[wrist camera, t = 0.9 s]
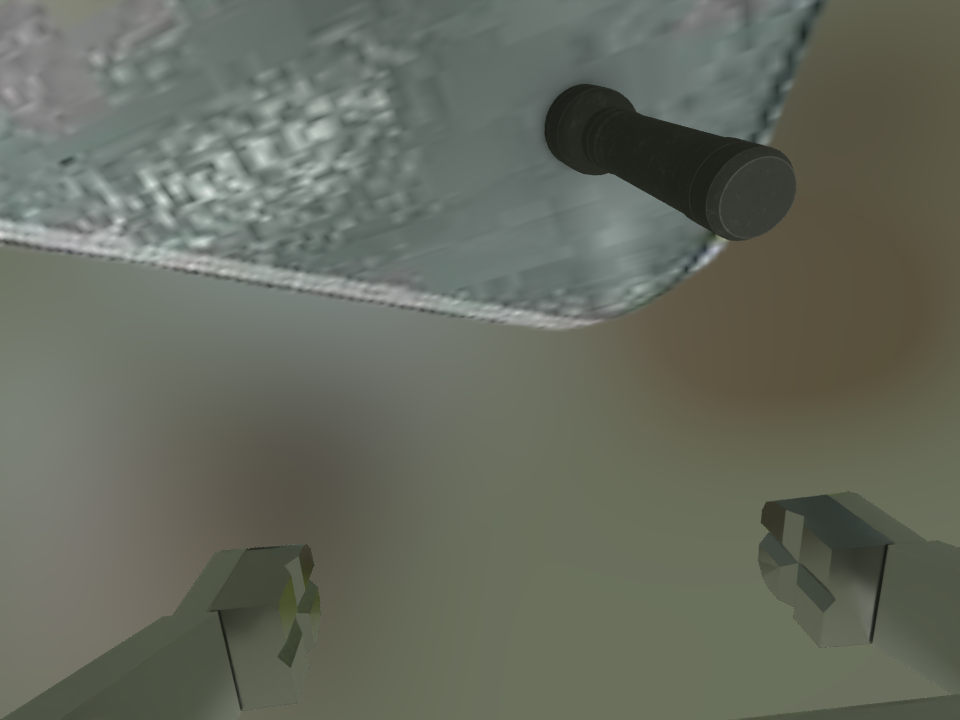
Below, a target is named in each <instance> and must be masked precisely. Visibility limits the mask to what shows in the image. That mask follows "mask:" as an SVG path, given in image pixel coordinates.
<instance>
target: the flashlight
mask: <svg viewBox="0 0 960 720" xmlns="http://www.w3.org/2000/svg"><path fill="white" fill-rule="evenodd" d="M545 137H546V142H547V145H548V147H549V149H550V151H551V152H552V154H553V155H554V156H555V157H556V158H557V159H558V160H560V161H561V162H563V163H564V164H566V165H567V166H569V167H571V168H572V169H574V170H576V171H578V172H580V173H583V174H588V175H603V174H606V173H610V174H614V175H616V176H618V177H620V178H621V179H623V180H625V181H627V182H629V183H630V184H632V185H634V186H636V187H637V188H639V189H641V190H643V191H645V192H646V193H648V194H650V195H652V196H653V197H655V198H657V199H659V200H661V201H662V202H664V203H666V204H668V205H669V206H671V207H673V208H675V209H676V210H678V211H680V212H682V213H684V214H685V215H686V216H687V217H688V218H689V219H691V220H692V221H694V222H696V223H697V224H699V225H701V226H703V227H704V228H706V229H708V230H710V231H711V232H713V233H715V234H717V235H718V236H720V237H722V238H725V239H728V240H733V241H742V240H747V239H751V238H754V237H757V236H760V235H763V234H765V233H767V232H768V231H770V230H771V229H773V228H774V227H775V226H777V225H778V224H779V223H780V222H781V221H782V219H783V218H784V217H785V216H786V214H787V213H788V211H789V210H790V208H791V206H792V203H793V201H794V198H795V194H796V185H797V183H796V176H795V173H794V170H793V167H792V165H791V162H790V161H789V159H788V158H787V157H786V156H785V155H784V154H783V153H782V152H781V151H779V150H777V149H774V148H772V147H768V146H764V145H760V144H757V143H752V142H749V141H745V140H741V139H737V138H732V137H722V136H718V135H714V134H711V133H707V132H703V131H699V130H696V129H692V128H688V127H685V126H681V125H677V124H673V123H670V122H666V121H662V120H658V119H655V118H651V117H647V116H644V115H641V114H640V113H637V112H636V111H635V109H634V107H633V105H632V104H631V102H630V101H629V100H628V99H627V98H626V97H624V96H623V95H622V94H620V93H619V92H617V91H614V90H612V89H609V88H605V87H600V86H595V85H589V84H582V85H577V86H573V87H571V88H569V89H567V90H565V91H564V92H563V93H562V94H560V95H559V96H558V97H557V99H556V100H555V101H554V102H553V104H552V106H551V107H550V109H549V112H548V114H547V117H546V122H545Z"/></svg>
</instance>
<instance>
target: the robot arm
mask: <svg viewBox="0 0 960 720" xmlns="http://www.w3.org/2000/svg"><path fill="white" fill-rule="evenodd" d="M761 524H762V525H763V526H764V527H765V529H766V530H767V532H768V534H767V535H766V536H765V537H764V539H763V540H762V541H761V542H760V544H759V557H758V562H759V566H760V570H761V574H762V577H763V579H764V581H765V583H766V585H767V587H768V588H769V590H770V591H771V592H772V593H773V594H774V596H775V597H776V598H777V599H778V600H780V601H782V602H785V603H786V604H789V605H791V606H793V607H794V615H793V618H794V619H795V620H796V621H797V623H798V624H799V625H800V626H801V627H802V628H803V629H804V631H806V633H807V634H808V635H809V636H810V637H811V639H812V640H813V641H814V642H815V643H816V644H817V645H818V647H819V648H826V647H838V646H851V645H865V644H872V647H874V648H875V649H877V650H879V651H880V652H882V653H884V654H885V655H887V656H889V657H890V658H892V659H894V660H895V661H897V662H899V663H900V664H902V665H904V666H905V667H907V668H909V669H910V670H912V671H914V672H915V673H917V674H919V675H920V676H922V677H924V678H926V679H927V680H929V681H930V682H932V683H934V684H935V685H937V686H939V687H940V688H942V689H944V690H945V691H947V692H949V693H951V694H952V695H947V696H938V697H929V698H920V699H911V700H902V701H893V702H884V703H875V704H866V705H858V706H848V707H839V708H831V709H821V710H813V711H803V712H794V713H785V714H776V715H767V716H758V717H749V718H740V719H730V720H960V548H959V547H956V546H953V545H950V544H947V543H944V542H940V541H927V540H925V539H924V538H923V537H921V536H920V535H918V534H917V533H915V532H913V531H912V530H911V529H909V528H908V527H906V526H905V525H903V524H902V523H900V522H899V521H897V520H896V519H894V518H893V517H891V516H890V515H888V514H887V513H885V512H884V511H883V510H881V509H880V508H878V507H877V506H875V505H874V504H872V503H871V502H869V501H868V500H866V499H865V498H863V497H862V496H860V495H859V494H856V493H852V492H848V491H847V492H840V493H832V494H825V495H819V496H811V497H802V498H794V499H786V500H777V501H768V502H766V503H765V505H764V507H763V509H762V516H761ZM313 567H314V561H313V556H312V552H311V548H310V547H309V546H308V545H307V544H296V545H284V546H283V545H282V546H270V547H255V548H249V549H248V548H241V549H231V550H222V551H219V552H217V553H215V554H214V555H213V557H212V558H211V559H210V561H209V562H208V564H207V565H206V567H205V568H204V570H203V571H202V573H201V574H200V575H199V577H198V578H197V580H196V581H195V583H194V584H193V586H192V587H191V589H190V590H189V592H188V593H187V595H186V596H185V598H184V599H183V600H182V602H181V603H180V605H179V606H178V608H177V609H176V611H175V612H174V614H173V615H172V616H163V617H161V618H160V619H158V620H156V621H155V622H153V623H152V624H150V625H148V626H147V627H145V628H144V629H142V630H141V631H139V632H138V633H136V634H134V635H133V636H131V637H129V638H128V639H126V640H125V641H123V642H122V643H120V644H118V645H117V646H115V647H114V648H112V649H111V650H109V651H107V652H106V653H104V654H103V655H101V656H100V657H98V658H97V659H95V660H93V661H92V662H90V663H89V664H87V665H85V666H84V667H82V668H81V669H79V670H78V671H76V672H75V673H73V674H71V675H70V676H68V677H67V678H65V679H63V680H62V681H60V682H59V683H57V684H56V685H54V686H52V687H51V688H49V689H48V690H46V691H45V692H43V693H41V694H40V695H38V696H37V697H35V698H34V699H32V700H30V701H29V702H27V703H26V704H24V705H23V706H21V707H19V708H18V709H16V710H15V711H13V712H11V713H10V714H8V715H7V716H5V717H4V718H2V719H0V720H237V719H238V718H239V716H240V715H241V711H246V710H253V709H260V708H268V707H275V706H282V705H289V704H297V703H298V700H299V697H300V693H301V690H302V687H303V684H304V680H305V677H306V674H307V671H308V663H307V657H306V654H307V653H308V652H309V651H310V650H311V649H312V648H313V647H314V646H315V644H316V640H317V637H318V633H319V625H320V616H321V611H320V596H319V590H318V587H317V586H316V585H315V584H314V583H313V582H312V581H311V580H310V576H311V573H312V570H313Z"/></svg>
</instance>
